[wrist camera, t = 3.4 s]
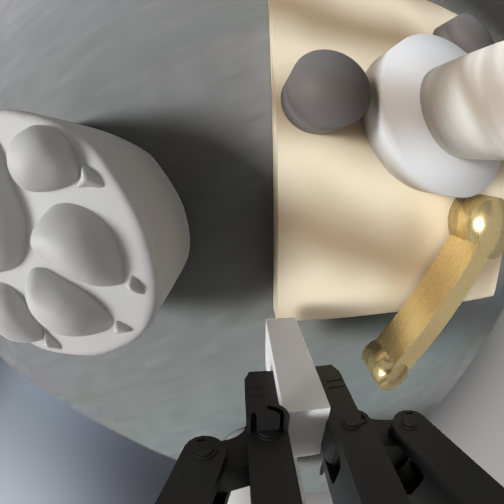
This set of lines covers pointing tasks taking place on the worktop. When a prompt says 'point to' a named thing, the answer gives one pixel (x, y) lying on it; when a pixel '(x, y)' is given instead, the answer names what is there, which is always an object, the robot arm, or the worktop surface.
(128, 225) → the paw-shaped mold
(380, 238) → the base
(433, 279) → the brass ball lever
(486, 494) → the robot arm
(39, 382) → the worktop surface
